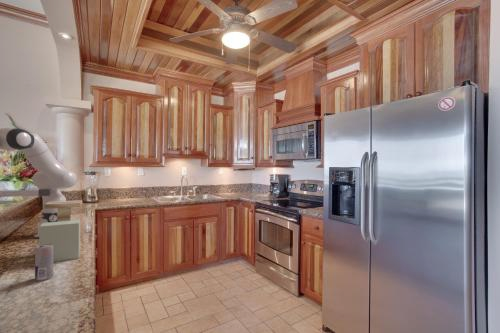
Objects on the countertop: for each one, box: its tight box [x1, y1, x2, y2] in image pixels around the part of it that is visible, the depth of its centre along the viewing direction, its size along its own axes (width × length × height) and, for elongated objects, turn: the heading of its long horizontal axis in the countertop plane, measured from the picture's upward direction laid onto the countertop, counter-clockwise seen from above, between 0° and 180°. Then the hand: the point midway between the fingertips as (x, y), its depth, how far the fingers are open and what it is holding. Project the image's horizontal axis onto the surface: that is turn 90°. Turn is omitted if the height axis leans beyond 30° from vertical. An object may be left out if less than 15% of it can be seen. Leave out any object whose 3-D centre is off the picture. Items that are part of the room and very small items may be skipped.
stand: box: [44, 199, 83, 252], centre depth 126 cm, size 10×14×24 cm
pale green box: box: [38, 219, 81, 263], centre depth 116 cm, size 8×14×16 cm, turn 120°
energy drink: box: [34, 244, 54, 282], centre depth 96 cm, size 5×5×12 cm
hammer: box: [0, 188, 52, 198], centre depth 114 cm, size 7×22×3 cm, turn 120°
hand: (4, 192), depth 112 cm, fingers closed on hammer, 2 cm apart
